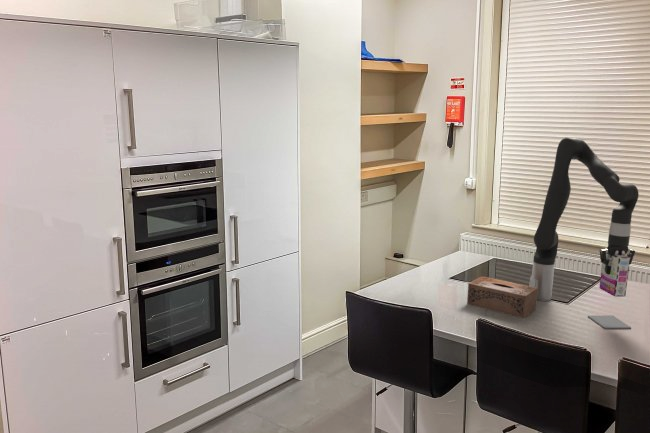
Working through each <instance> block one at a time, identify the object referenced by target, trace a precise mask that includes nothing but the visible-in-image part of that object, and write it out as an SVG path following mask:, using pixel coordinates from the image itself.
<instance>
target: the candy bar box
mask: <svg viewBox="0 0 650 433" xmlns="http://www.w3.org/2000/svg"><path fill="white" fill-rule="evenodd" d="M608 254H609V253H608V252H607V254H606V259H607V256H608ZM609 257H610V258H612V257H611V256H610V255H609ZM630 265H631V264H630V257H628V256H627V255H626V254H625V255H614V257H613V261H612V264H611V272H610V275H608V274H606V272H605V264H603V263H602V264H601V272H600V280H599V289H600V290H601V291H604V292H606V293H607V294H609V295H611V296H613V297H615V298H616V297H617V298H618V297H620V298H621V297H623V298H624V297H626V295H627V294H626V292H627V286H628V279H629V273H630Z"/></svg>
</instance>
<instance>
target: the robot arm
mask: <svg viewBox="0 0 650 433" xmlns="http://www.w3.org/2000/svg"><path fill="white" fill-rule="evenodd" d="M572 160H577V161H578V162H580V163H582V164H583V165H584V166H585V167H586V168H587V169H588V171H589V173H590V175H591V177H592V178H593V179H594V180H595V181H596V182H597V183H598V184H599V185H600V186H602V187H603V188H604V191H605V192H606V193H607V195H608V197H609V198H610V199H611V200H613V201H614V202H616V203H619V205H618V206H616V207H614V208H612V212H611V219H610V220H611V221H610V224H609V230H608V239H607V247H606V248H602V249H601V248H600V249H599V258H600V263H603V264H605V272H606V274H608V275H610V272H611V264H612V261H613V257H614V255H625V256H628V257H630V265H631V264H632V262H633V259H634V256H635V254H636V250H634V249H632V248H629V245H630V238H631V230H632V226H631V224H632V216H633V215H632V214H633V212H634V210H635V207H636V206H637V202H638V199H639V196H640V195H639V193H640V192H639V189H638V187H637V186H636V185H635V184H631V183H627V184H626V183H625V184H621V183H620V176H619V175H618V174H617V173H616V172H614V170H612V169H611V168H610V167H609V166H607V165H606V164H605V163H604V162H603V161H602V160H601V159H600V158H599V157H598V155H597V154H596V153H595V152H594V151H593V150H592V149H591V147H590V146H589V144H587V142H585V140H583V139H582V138H577V137H576V138H574V137H564V138H562V139H561V140H560V142H559V143H558V145H557V149H556V153H555V158H554V165H553V171H552V174H551V178H550V182H549V186H548V189H547V192H546V195H545V200H544V204H543V208H542V213H541V217H540V220H539V223H538V226H537V229H536V231H535V234H534V235H533V242H534V245H535V247H536V250H535V252H534V255H533V261H532V262H533V263H532V273H531V276H529V285H528V286H531V287H535V288H538V289H537V300H536V301H540V302H548V301H551V300H552V293H553V286H554V284H553V283H554V276H555V275H554V274H555V273H554V272H555V262H556V258H557V256H558V255H557V254H558V249H559V248H558V247H559V234H558V232H557V227H558V223H559V221H560V219H561V217H562V215H563V213H564V211H565V209H566V208H567V204H568V202H569V198H570V194H571V191H572V190H571V188H572V186H571V181H570V177H569V171H570V166H571V162H572ZM607 252H608V253H609V254H608V256H607V259H606V254H607ZM609 255H610V256H611V257H612V258H610V257H609Z"/></svg>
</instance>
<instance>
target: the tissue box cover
mask: <svg viewBox="0 0 650 433" xmlns="http://www.w3.org/2000/svg"><path fill="white" fill-rule="evenodd" d="M467 285H468V286H467V302H466V305H469V306H474V307H478V308H480V309H481V308H482V309H486V310H490V311H494V312H498V313H501V314H502V313H503V314H505V315H510V316H513V317H517V318H521V319H525V318H526V317H528V315H530V314H532V313H533V312H534V311H536V308H537V301H538V300H537V289H538V288H535V287H531V286H529V285H525V284H521V283H515V282H511V281H506V280H501V279H497V278H492V277H487V276H480V277H478V278H476V279H474V280H472V281H471V282H468V284H467Z"/></svg>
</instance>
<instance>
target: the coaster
mask: <svg viewBox="0 0 650 433" xmlns="http://www.w3.org/2000/svg"><path fill="white" fill-rule="evenodd" d="M587 318H589V319H590V320H592V321H593V322H594V323H596V324H597V325H598V326H600V327H601V328H602V329H604V330H631V329H632V326H629V325H628V324H627V323H625V322H624V321H622V320H620V319H619V318H617V317H616V316H615V315H587Z"/></svg>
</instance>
